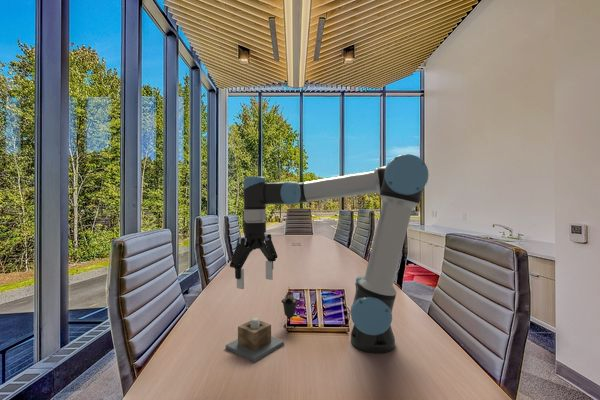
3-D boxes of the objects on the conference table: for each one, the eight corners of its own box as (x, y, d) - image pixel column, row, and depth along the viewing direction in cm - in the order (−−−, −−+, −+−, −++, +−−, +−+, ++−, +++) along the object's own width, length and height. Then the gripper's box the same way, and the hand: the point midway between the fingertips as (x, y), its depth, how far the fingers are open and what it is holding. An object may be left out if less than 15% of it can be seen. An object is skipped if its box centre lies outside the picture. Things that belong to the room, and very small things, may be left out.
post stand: (283, 344, 103) (283, 318, 103) (254, 362, 92) (254, 332, 92) (255, 333, 111) (255, 309, 111) (225, 348, 100) (225, 321, 100)
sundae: (290, 321, 123) (290, 285, 123) (301, 326, 118) (301, 288, 118) (277, 325, 118) (277, 288, 118) (289, 331, 113) (289, 292, 113)
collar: (271, 341, 102) (271, 324, 102) (254, 351, 96) (254, 332, 96) (255, 335, 107) (254, 318, 107) (237, 344, 101) (237, 326, 101)
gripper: (271, 219, 114) (272, 274, 114) (218, 223, 94) (218, 290, 94) (286, 219, 109) (287, 277, 109) (233, 224, 89) (234, 295, 89)
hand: (255, 283), depth 102 cm, fingers open, 13 cm apart
